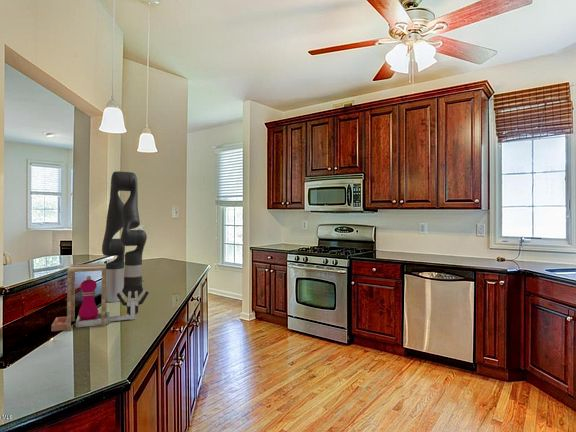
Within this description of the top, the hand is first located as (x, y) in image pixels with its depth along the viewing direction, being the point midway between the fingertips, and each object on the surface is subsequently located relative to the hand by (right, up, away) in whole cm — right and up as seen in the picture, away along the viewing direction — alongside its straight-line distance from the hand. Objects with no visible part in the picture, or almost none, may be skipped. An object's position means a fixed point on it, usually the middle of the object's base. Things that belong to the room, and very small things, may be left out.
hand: (132, 314), depth 158 cm
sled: (-9, -2, -4) cm, 10 cm away
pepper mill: (-15, -2, -7) cm, 17 cm away
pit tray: (-24, -2, -12) cm, 27 cm away
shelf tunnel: (-16, -2, -7) cm, 17 cm away
